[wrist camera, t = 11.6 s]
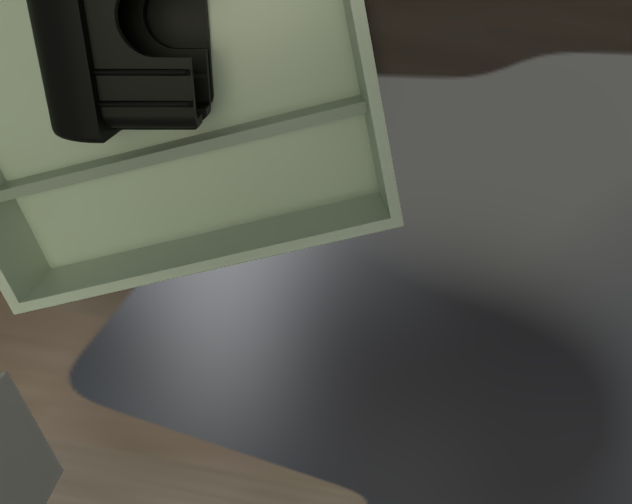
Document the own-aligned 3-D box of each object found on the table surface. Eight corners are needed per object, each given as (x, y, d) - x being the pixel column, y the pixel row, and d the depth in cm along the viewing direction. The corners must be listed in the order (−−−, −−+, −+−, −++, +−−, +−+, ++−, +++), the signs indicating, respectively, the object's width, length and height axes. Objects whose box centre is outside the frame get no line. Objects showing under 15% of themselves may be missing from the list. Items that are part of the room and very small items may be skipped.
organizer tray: (313, -212, 24) (317, -261, 20) (389, 194, 33) (404, 225, 28) (-130, -84, 26) (-221, -102, 21) (51, 273, 34) (13, 314, 30)
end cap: (48, -102, 25) (-33, -135, 19) (200, -100, 25) (169, -132, 19) (85, 115, 29) (29, 144, 23) (215, 115, 30) (194, 144, 23)
